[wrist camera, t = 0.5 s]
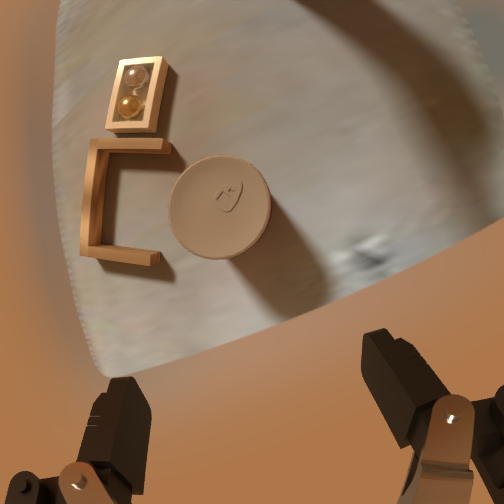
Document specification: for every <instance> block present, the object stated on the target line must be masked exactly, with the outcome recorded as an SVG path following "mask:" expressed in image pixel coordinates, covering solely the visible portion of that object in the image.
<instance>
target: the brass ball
mask: <svg viewBox="0 0 504 504" xmlns="http://www.w3.org/2000/svg"><path fill="white" fill-rule="evenodd" d="M143 108H144V105H143V101H142V99H141V98H140V97H138V96H137V95H127V96H125V97H123V98H122V99H121V101H120V102H119V104H118V112H119V114H120V116H121V117H122V118H124V119H126V120H133V119H136V118H137V117H139V116H140V115H141V113H142V111H143Z"/></svg>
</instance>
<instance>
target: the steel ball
mask: <svg viewBox="0 0 504 504" xmlns="http://www.w3.org/2000/svg"><path fill="white" fill-rule="evenodd" d="M149 78H150V75H149V72H148V70H147V69H146V68H145V67H143V66H134V67H132V68H130V69H129V70H128V71H127V72H126V74H125V78H124V81H125V84H126V86H127V87H128V88H130V89H133V90H139V89H142V88H144V87H145V86H146V85H147V84H148V82H149Z"/></svg>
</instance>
